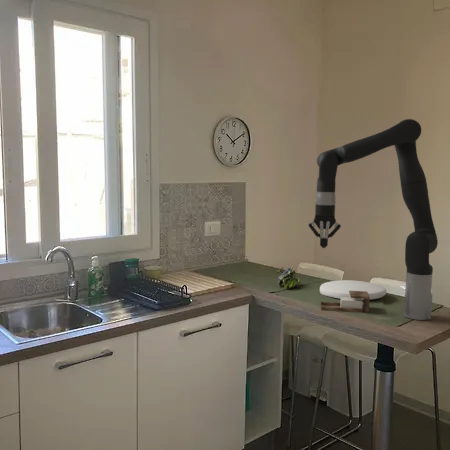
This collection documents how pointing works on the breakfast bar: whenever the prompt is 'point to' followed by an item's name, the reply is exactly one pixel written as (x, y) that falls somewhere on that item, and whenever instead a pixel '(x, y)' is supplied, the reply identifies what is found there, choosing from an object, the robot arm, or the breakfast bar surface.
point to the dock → (336, 307)
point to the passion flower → (288, 274)
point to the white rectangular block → (351, 302)
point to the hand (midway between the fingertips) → (323, 247)
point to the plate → (351, 288)
